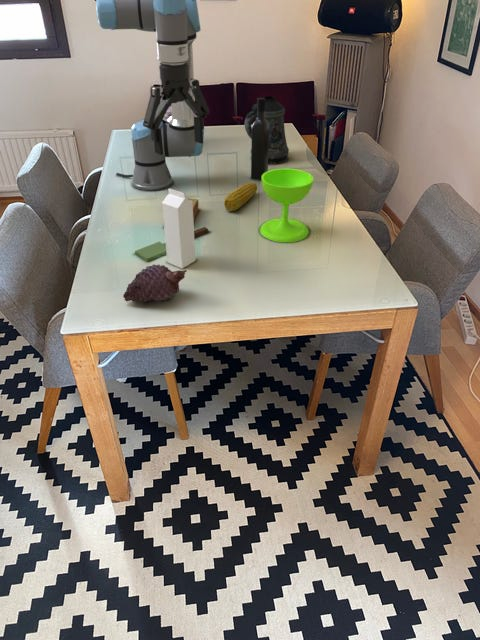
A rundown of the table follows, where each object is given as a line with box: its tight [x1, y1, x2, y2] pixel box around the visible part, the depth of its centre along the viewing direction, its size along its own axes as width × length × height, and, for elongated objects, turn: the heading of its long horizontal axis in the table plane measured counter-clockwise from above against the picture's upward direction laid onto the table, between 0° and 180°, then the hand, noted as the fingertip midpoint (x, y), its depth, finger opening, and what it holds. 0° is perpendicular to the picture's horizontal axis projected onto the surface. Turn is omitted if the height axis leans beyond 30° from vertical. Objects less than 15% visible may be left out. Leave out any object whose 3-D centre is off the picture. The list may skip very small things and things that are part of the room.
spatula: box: [134, 226, 209, 263], centre depth 161 cm, size 26×6×1 cm, turn 133°
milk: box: [161, 188, 196, 269], centre depth 146 cm, size 6×6×22 cm
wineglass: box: [259, 167, 314, 243], centre depth 163 cm, size 16×16×18 cm
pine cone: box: [122, 263, 187, 303], centre depth 134 cm, size 18×10×10 cm
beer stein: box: [244, 96, 290, 165], centre depth 216 cm, size 16×19×25 cm
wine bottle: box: [250, 97, 269, 181], centre depth 197 cm, size 6×6×30 cm
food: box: [223, 182, 258, 212], centre depth 185 cm, size 21×6×6 cm, turn 155°
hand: (179, 147), depth 140 cm, fingers open, 13 cm apart
